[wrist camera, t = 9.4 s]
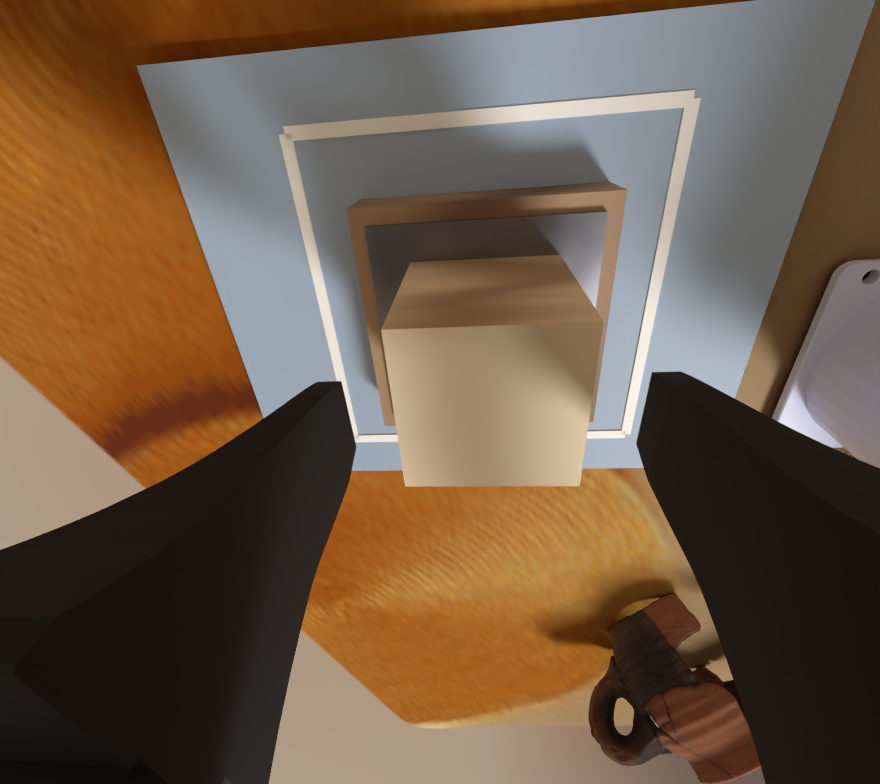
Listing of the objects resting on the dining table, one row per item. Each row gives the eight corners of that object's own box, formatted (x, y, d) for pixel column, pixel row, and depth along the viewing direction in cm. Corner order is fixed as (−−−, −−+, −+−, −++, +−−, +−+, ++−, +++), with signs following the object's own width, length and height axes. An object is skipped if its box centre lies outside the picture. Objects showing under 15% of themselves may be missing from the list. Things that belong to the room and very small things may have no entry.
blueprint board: (861, -8, 11) (957, -39, 9) (704, 458, 20) (733, 500, 17) (149, 68, 13) (83, 57, 11) (287, 463, 22) (266, 501, 19)
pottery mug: (714, 559, 24) (861, 728, 19) (709, 576, 32) (815, 702, 26) (539, 666, 26) (632, 848, 21) (573, 659, 33) (648, 793, 28)
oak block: (560, 254, 13) (604, 321, 8) (549, 383, 15) (579, 486, 11) (410, 262, 13) (381, 329, 9) (423, 386, 15) (404, 486, 11)
